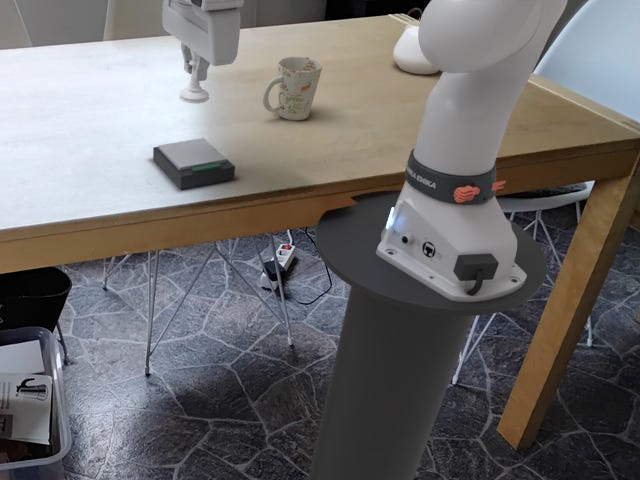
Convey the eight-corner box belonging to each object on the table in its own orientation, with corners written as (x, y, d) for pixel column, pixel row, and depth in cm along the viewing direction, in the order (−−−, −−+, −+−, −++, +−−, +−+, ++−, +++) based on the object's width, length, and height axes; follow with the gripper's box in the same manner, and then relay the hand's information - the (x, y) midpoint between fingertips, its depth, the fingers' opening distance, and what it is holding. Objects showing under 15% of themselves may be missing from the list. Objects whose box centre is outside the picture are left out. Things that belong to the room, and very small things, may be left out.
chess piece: (204, 105, 116) (207, 40, 110) (175, 101, 118) (176, 36, 111) (212, 94, 120) (216, 31, 113) (184, 90, 121) (186, 27, 115)
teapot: (464, 82, 160) (478, 34, 153) (412, 85, 158) (423, 36, 151) (425, 52, 175) (436, 7, 168) (376, 54, 173) (385, 9, 166)
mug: (323, 117, 145) (331, 65, 138) (276, 131, 139) (282, 78, 133) (294, 103, 150) (301, 53, 143) (248, 116, 144) (252, 65, 138)
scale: (234, 179, 124) (235, 163, 122) (180, 189, 121) (181, 173, 119) (203, 151, 132) (204, 135, 130) (153, 160, 129) (153, 144, 127)
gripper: (152, -33, 114) (152, 57, 123) (210, 1, 99) (204, 101, 109) (189, -37, 116) (186, 53, 125) (250, -3, 101) (242, 95, 110)
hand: (195, 75), depth 116 cm, fingers closed on chess piece
